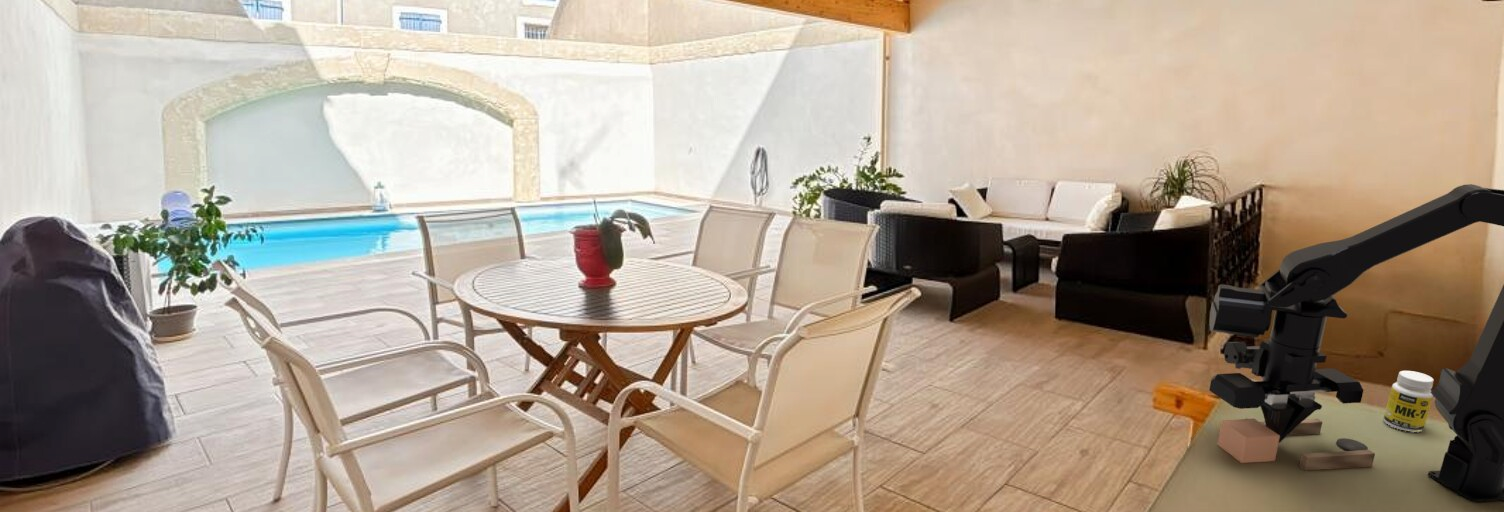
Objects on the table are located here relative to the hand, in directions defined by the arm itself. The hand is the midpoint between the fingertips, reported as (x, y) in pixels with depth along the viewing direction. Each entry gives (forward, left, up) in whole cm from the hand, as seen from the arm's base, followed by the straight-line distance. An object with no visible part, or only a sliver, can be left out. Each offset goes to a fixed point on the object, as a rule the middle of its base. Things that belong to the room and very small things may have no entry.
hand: (1274, 441), depth 108 cm
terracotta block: (+4, 0, -2) cm, 4 cm away
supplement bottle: (-25, -5, -2) cm, 26 cm away
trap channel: (-7, 0, -2) cm, 8 cm away
